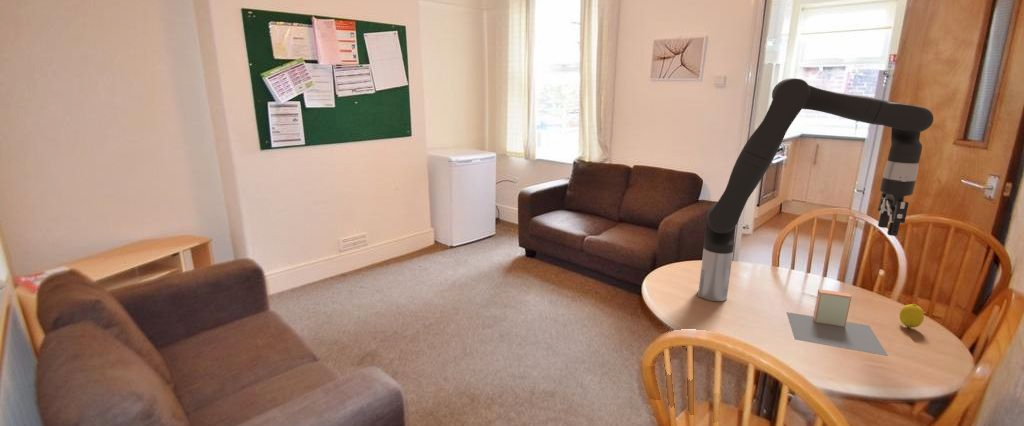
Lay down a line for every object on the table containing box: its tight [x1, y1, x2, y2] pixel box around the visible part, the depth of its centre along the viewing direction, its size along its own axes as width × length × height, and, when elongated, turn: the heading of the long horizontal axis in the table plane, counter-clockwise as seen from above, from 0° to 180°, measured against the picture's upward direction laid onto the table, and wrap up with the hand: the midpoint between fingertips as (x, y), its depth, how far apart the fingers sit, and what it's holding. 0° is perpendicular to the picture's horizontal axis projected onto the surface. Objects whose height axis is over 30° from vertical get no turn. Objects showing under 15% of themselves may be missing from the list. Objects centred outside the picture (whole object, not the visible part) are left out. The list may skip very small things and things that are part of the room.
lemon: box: [899, 303, 925, 329], centre depth 142 cm, size 6×6×8 cm
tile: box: [813, 288, 852, 327], centre depth 144 cm, size 8×3×10 cm, turn 67°
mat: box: [786, 311, 889, 357], centre depth 140 cm, size 22×18×1 cm
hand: (887, 231), depth 140 cm, fingers open, 8 cm apart
